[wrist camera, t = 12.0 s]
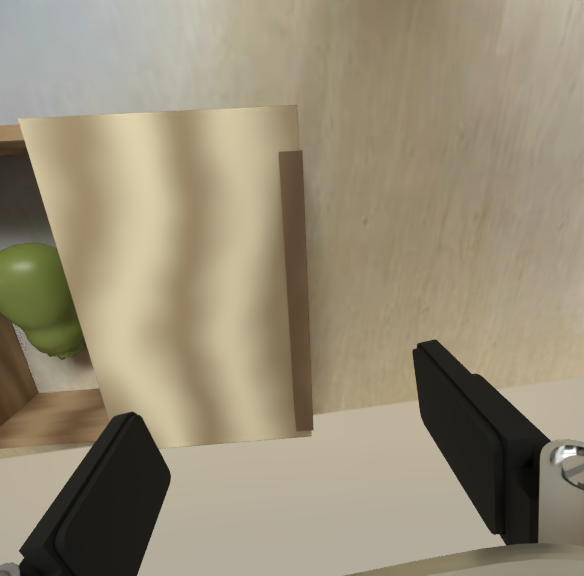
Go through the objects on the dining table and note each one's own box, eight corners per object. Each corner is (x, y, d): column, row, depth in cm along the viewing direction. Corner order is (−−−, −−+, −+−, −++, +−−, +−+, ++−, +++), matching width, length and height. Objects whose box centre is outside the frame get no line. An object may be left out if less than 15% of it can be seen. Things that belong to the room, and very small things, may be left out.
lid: (295, 109, 18) (299, 94, 15) (310, 426, 25) (314, 457, 22) (32, 122, 17) (-17, 109, 14) (125, 441, 24) (105, 475, 22)
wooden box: (290, 129, 24) (295, 110, 18) (303, 380, 31) (309, 423, 25) (-67, 147, 23) (-181, 134, 17) (32, 400, 30) (-24, 450, 24)
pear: (33, 256, 20) (86, 369, 25) (77, 232, 25) (115, 331, 30) (-54, 261, 20) (16, 374, 25) (7, 236, 25) (56, 335, 30)
